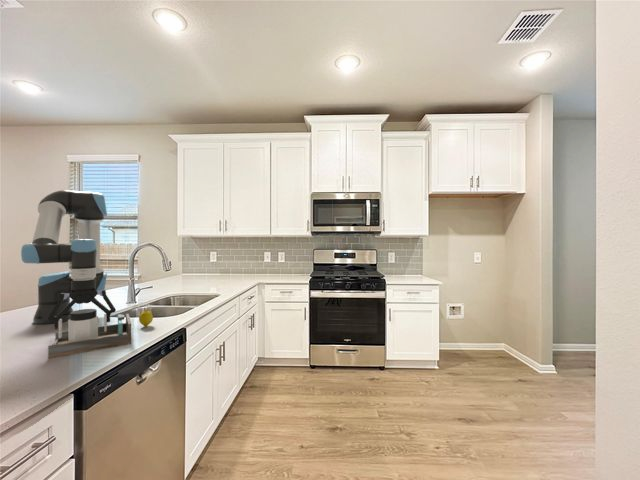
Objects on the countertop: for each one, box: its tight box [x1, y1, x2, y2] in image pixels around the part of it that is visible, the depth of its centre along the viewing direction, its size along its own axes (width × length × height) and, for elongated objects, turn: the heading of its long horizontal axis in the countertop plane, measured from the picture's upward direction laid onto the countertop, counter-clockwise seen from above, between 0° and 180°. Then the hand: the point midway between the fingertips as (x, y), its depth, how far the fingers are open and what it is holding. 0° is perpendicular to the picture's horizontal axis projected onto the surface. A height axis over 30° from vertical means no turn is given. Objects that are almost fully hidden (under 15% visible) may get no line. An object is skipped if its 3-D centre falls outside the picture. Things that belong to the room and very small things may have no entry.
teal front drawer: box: [47, 313, 132, 359], centre depth 115 cm, size 18×24×8 cm
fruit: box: [138, 309, 154, 328], centre depth 136 cm, size 6×6×8 cm
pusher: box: [117, 314, 125, 335], centre depth 120 cm, size 15×2×8 cm, turn 36°
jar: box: [67, 308, 99, 343], centre depth 113 cm, size 9×8×12 cm
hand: (83, 333), depth 113 cm, fingers open, 13 cm apart
